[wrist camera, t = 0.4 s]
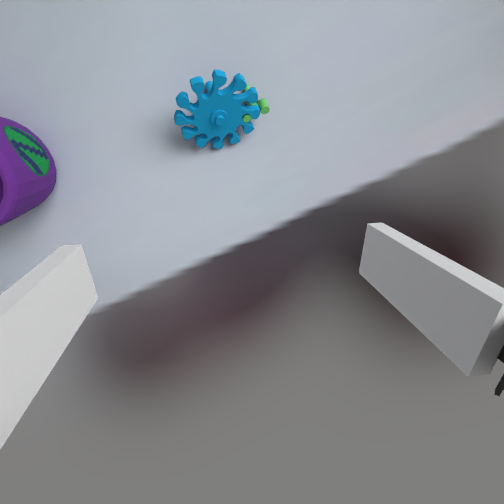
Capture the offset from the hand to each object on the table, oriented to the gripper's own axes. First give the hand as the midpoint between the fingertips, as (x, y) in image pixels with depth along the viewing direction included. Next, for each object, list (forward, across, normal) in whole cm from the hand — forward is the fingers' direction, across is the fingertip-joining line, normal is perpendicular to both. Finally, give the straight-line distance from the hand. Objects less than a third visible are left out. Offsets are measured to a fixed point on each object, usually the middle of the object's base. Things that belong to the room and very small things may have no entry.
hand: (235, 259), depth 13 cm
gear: (+28, +1, +7) cm, 29 cm away
